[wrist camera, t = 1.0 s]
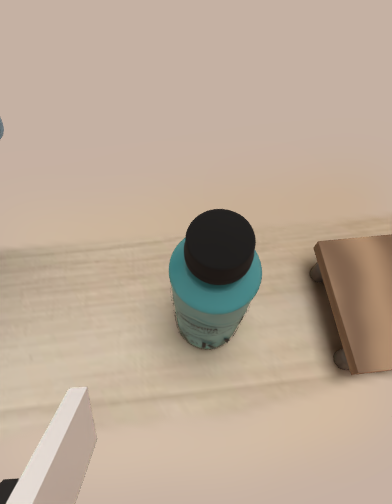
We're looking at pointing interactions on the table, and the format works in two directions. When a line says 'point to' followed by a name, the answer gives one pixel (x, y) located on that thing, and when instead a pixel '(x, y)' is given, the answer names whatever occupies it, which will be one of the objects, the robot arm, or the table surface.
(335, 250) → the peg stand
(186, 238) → the beverage bottle
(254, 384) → the table surface
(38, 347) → the table surface
